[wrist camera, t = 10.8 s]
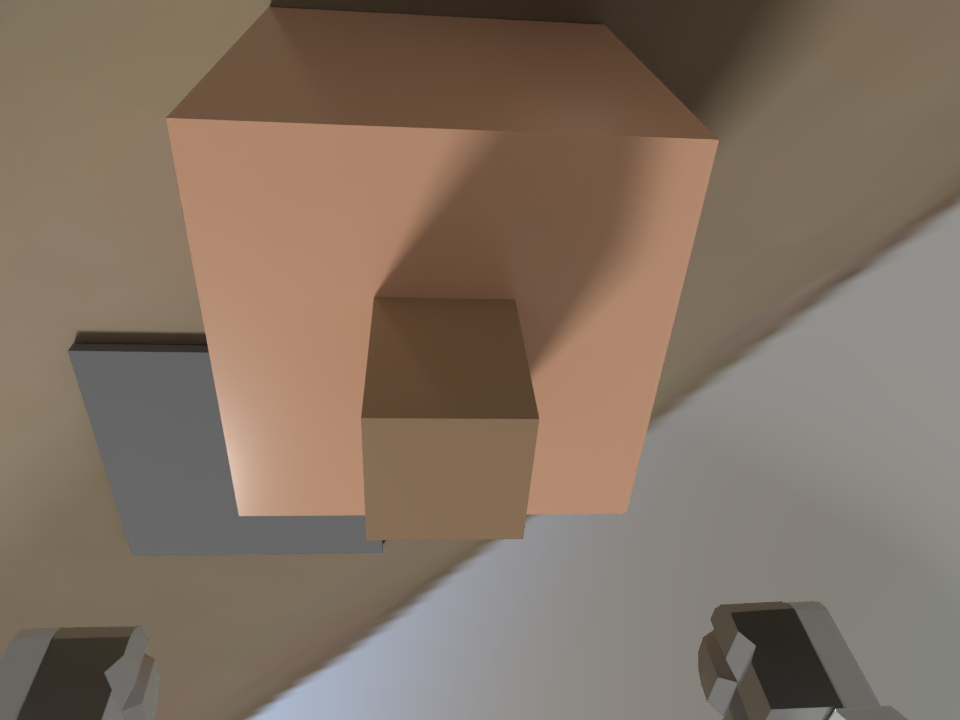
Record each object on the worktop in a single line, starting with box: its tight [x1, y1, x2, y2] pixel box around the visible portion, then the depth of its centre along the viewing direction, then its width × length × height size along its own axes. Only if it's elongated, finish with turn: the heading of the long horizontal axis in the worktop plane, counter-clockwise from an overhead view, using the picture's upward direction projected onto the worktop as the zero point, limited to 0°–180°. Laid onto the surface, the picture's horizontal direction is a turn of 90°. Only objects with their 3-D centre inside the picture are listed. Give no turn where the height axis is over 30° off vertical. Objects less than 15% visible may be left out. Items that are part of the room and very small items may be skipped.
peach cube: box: [166, 7, 719, 540], centre depth 19 cm, size 10×10×15 cm
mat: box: [68, 344, 383, 556], centre depth 32 cm, size 12×12×1 cm
